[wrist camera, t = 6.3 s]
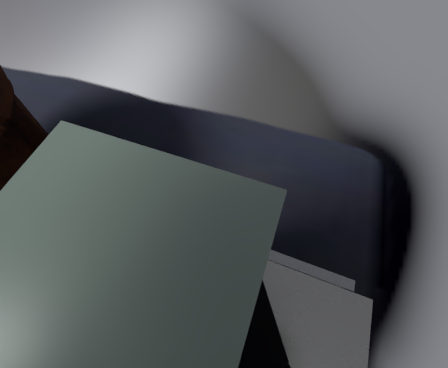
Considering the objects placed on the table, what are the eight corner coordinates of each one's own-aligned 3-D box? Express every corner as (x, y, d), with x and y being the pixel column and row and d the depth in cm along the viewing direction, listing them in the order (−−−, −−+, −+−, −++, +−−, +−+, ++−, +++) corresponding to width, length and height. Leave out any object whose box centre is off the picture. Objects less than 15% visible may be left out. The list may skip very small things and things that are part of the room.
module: (221, 345, 13) (112, 817, 1) (155, 314, 14) (-234, 461, 2) (247, 262, 15) (286, 189, 3) (188, 239, 16) (61, 120, 4)
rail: (320, 386, 17) (366, 443, 11) (98, 282, 21) (43, 281, 15) (336, 281, 20) (378, 280, 14) (139, 207, 24) (108, 182, 18)
